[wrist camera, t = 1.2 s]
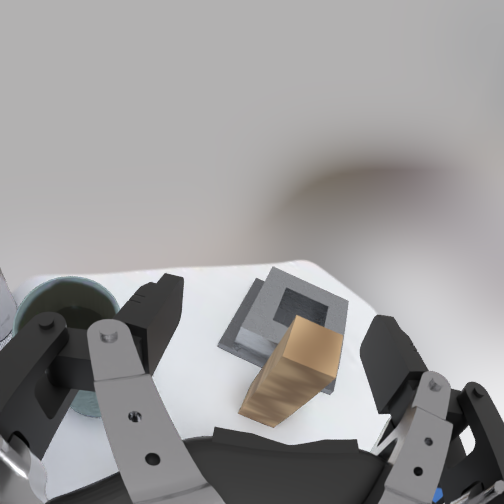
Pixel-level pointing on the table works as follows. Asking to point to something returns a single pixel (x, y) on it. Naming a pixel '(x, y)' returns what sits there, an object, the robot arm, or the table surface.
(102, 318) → the teal cup
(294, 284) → the metal socket
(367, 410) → the table surface
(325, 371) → the oak pin
